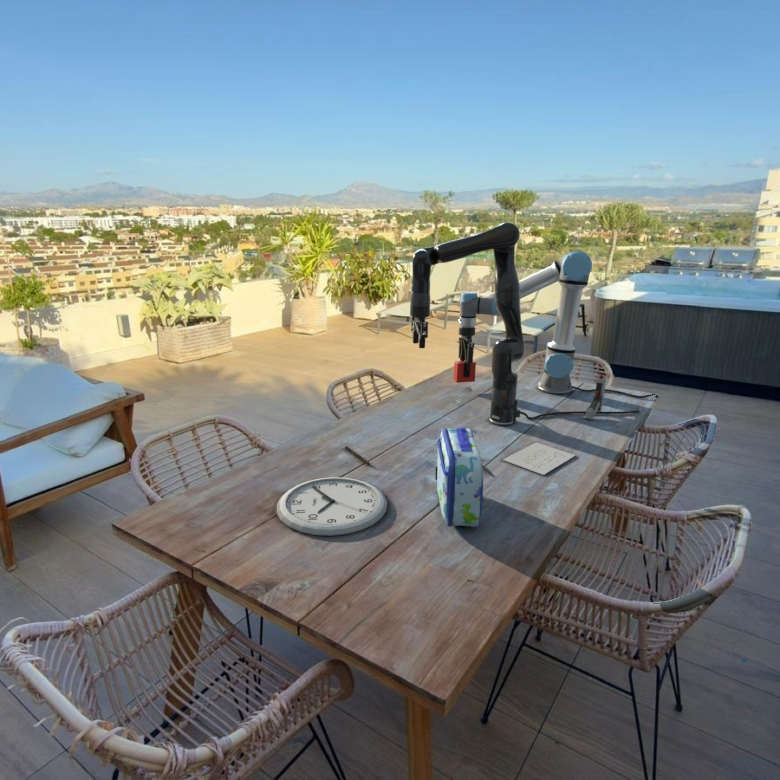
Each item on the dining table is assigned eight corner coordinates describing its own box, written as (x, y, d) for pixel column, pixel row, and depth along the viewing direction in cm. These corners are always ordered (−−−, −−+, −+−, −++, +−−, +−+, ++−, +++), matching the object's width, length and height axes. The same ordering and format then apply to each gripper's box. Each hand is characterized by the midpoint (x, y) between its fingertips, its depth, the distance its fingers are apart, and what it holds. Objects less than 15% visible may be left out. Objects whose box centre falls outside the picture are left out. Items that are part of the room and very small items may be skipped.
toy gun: (589, 383, 206) (600, 373, 217) (585, 421, 211) (596, 408, 223) (595, 384, 204) (606, 374, 215) (590, 422, 210) (602, 410, 221)
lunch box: (433, 484, 155) (436, 418, 148) (469, 485, 155) (474, 419, 148) (440, 534, 130) (444, 457, 124) (483, 535, 130) (489, 458, 124)
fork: (483, 474, 162) (483, 469, 161) (463, 454, 176) (463, 448, 176) (491, 474, 162) (491, 468, 162) (470, 453, 177) (470, 447, 176)
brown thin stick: (344, 448, 179) (344, 445, 179) (346, 448, 179) (346, 445, 179) (367, 464, 167) (367, 462, 167) (368, 464, 167) (368, 461, 167)
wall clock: (392, 527, 129) (268, 531, 127) (391, 533, 130) (269, 537, 127) (383, 473, 158) (282, 475, 155) (383, 478, 158) (282, 480, 156)
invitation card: (535, 442, 186) (575, 454, 176) (535, 442, 187) (575, 455, 176) (502, 459, 172) (543, 474, 162) (502, 460, 172) (543, 475, 162)
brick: (453, 380, 248) (454, 361, 245) (471, 379, 250) (472, 360, 248) (456, 382, 244) (457, 363, 242) (474, 381, 247) (476, 362, 244)
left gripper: (405, 301, 204) (404, 342, 209) (415, 306, 191) (414, 350, 196) (424, 301, 206) (422, 341, 211) (435, 306, 193) (433, 349, 197)
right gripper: (452, 323, 247) (450, 371, 254) (466, 330, 231) (464, 380, 238) (467, 322, 249) (465, 370, 255) (482, 329, 233) (479, 379, 240)
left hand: (418, 345), depth 203 cm, fingers open, 8 cm apart
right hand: (464, 375), depth 247 cm, fingers closed on brick, 4 cm apart
